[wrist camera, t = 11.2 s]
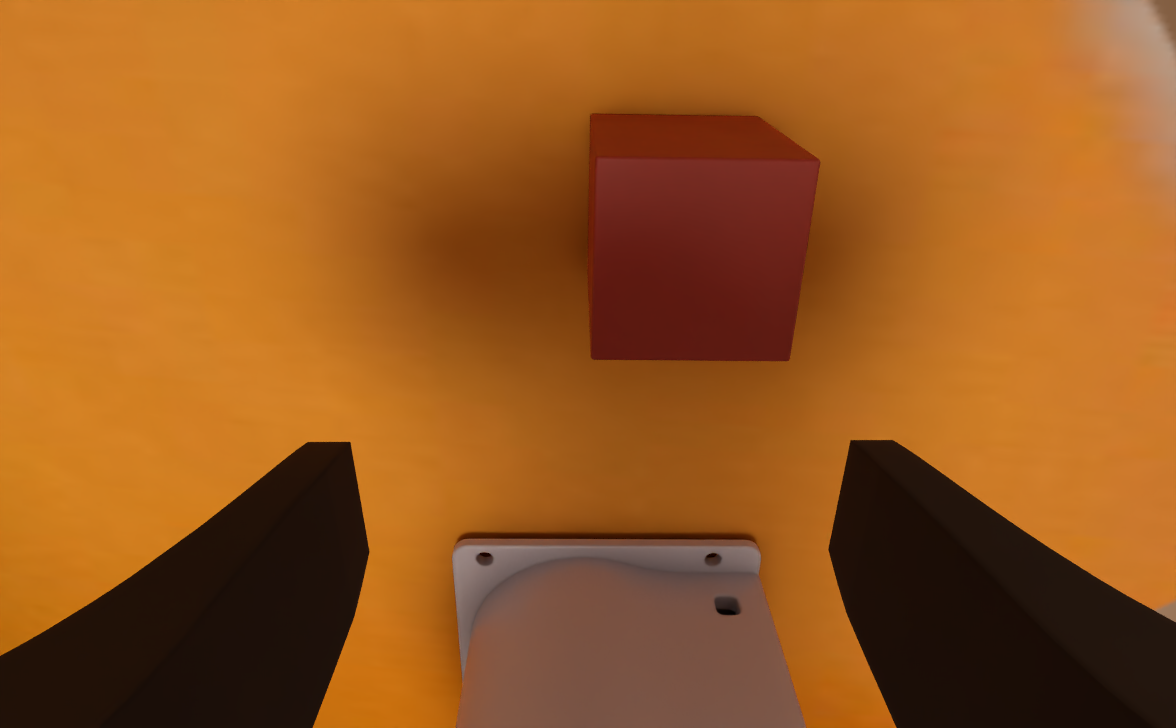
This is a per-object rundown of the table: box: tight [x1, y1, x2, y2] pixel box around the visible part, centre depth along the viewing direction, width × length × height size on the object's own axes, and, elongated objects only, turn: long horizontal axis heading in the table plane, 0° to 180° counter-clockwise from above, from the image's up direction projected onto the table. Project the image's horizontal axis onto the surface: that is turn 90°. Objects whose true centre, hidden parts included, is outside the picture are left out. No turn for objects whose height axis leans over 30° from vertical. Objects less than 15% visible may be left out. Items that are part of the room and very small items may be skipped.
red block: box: [587, 114, 820, 361], centre depth 16 cm, size 4×4×5 cm
